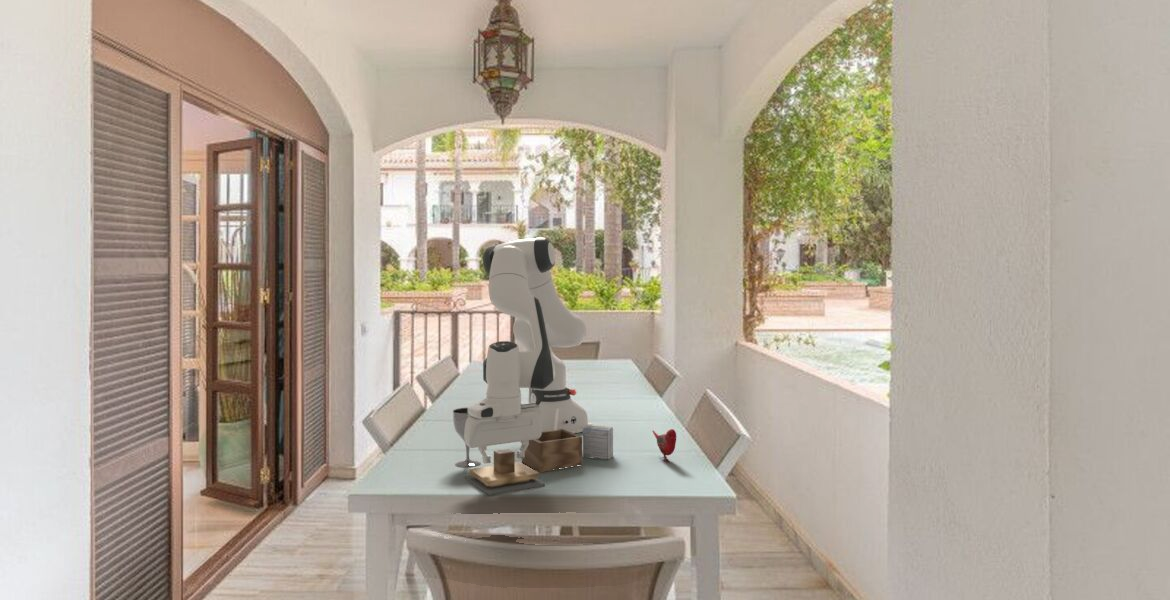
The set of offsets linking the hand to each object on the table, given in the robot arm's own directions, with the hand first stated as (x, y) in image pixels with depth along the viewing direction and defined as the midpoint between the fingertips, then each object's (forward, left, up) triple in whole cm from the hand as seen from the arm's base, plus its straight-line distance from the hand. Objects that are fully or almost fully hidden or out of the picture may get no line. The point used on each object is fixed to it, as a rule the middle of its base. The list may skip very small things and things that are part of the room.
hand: (503, 460), depth 183 cm
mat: (0, 0, -6) cm, 6 cm away
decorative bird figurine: (-48, +3, -6) cm, 49 cm away
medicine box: (-33, -8, -6) cm, 34 cm away
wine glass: (+2, -20, -6) cm, 21 cm away
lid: (0, 0, -4) cm, 4 cm away
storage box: (-18, -8, -6) cm, 20 cm away
